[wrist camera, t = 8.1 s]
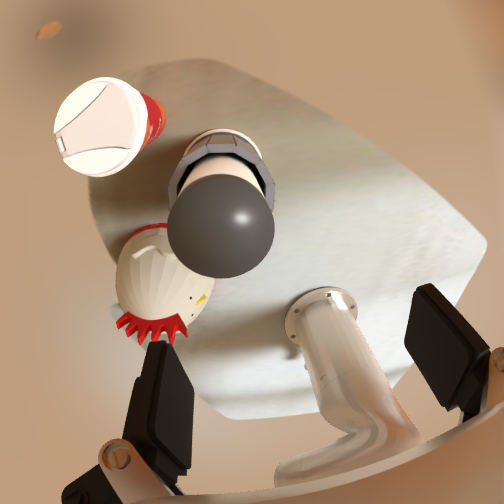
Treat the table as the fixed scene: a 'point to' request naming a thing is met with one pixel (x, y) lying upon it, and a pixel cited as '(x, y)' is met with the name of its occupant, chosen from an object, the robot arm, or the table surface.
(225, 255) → the plunger
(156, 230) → the kitchen timer
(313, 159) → the table surface
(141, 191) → the table surface
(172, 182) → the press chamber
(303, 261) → the table surface
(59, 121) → the coffee cup
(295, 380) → the table surface
